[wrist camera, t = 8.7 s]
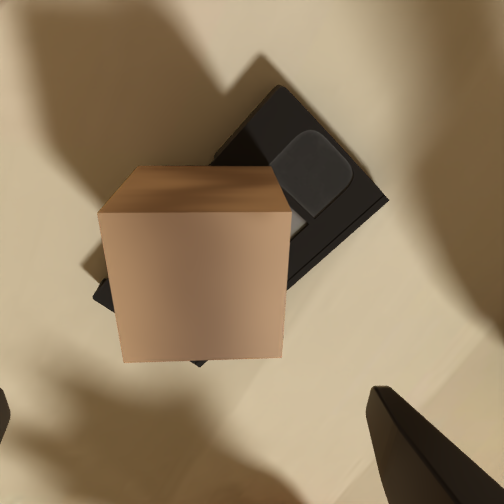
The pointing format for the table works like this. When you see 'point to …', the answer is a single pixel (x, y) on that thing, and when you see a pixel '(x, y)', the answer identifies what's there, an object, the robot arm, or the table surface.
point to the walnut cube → (198, 262)
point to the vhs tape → (298, 181)
